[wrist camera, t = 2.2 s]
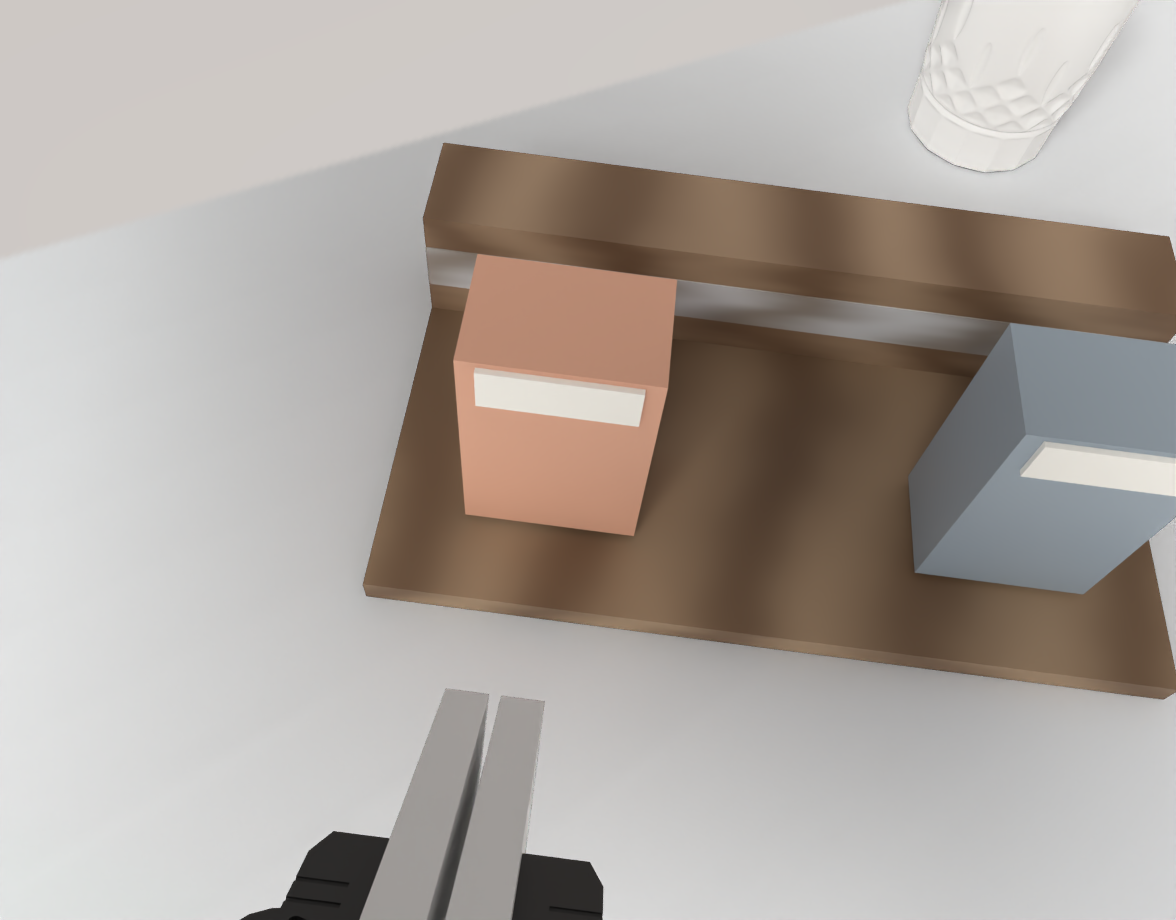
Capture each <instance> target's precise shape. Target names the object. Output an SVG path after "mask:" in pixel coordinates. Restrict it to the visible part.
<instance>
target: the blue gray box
mask: <svg viewBox="0 0 1176 920" xmlns="http://www.w3.org/2000/svg"><path fill="white" fill-rule="evenodd" d="M908 480H909V495H910V510H911V525H912V540H913V555H914V570H915V573H922V574H929V575H937V576H945V577H952V578H960V579H968V580H976V581H983V582H991V583H999V584H1006V585H1014V586H1022V587H1030V588H1037V589H1045V590H1053V591H1060V592H1068V593H1076V594H1084V593H1086V592H1087V591H1088V590H1089V589H1090V588H1092V587H1093V586H1094V585H1095V584H1096V583H1098V582H1099V581H1100V580H1101V579H1102V578H1104V577H1105V576H1106V575H1107V574H1108V573H1109V572H1111V571H1112V570H1113V569H1114V568H1115V567H1117V566H1118V565H1119V564H1120V563H1121V562H1123V561H1124V560H1125V559H1126V558H1127V557H1129V556H1130V555H1131V554H1132V553H1133V552H1135V551H1136V550H1137V549H1138V548H1139V547H1141V546H1142V545H1143V544H1144V543H1145V542H1147V541H1148V540H1149V539H1150V538H1151V537H1153V536H1154V535H1155V534H1156V533H1157V532H1158V531H1160V530H1161V529H1162V528H1163V527H1164V526H1166V525H1167V524H1168V523H1169V522H1170V521H1172V520H1173V519H1174V518H1175V517H1176V344H1169V343H1161V342H1154V341H1146V340H1138V339H1130V338H1123V337H1115V336H1107V335H1100V334H1092V333H1084V332H1076V331H1069V330H1061V329H1053V328H1046V327H1038V326H1030V325H1022V324H1015V323H1010V324H1009V325H1008V327H1007V329H1006V330H1005V332H1004V333H1003V335H1002V336H1001V338H1000V339H999V341H998V342H997V344H996V345H995V347H994V348H993V350H992V351H991V353H990V354H989V356H988V357H987V359H986V360H985V362H984V363H983V365H982V366H981V368H980V369H979V371H978V372H977V374H976V375H975V377H974V378H973V380H972V381H971V383H970V384H969V386H968V387H967V389H966V390H965V392H964V393H963V395H962V396H961V398H960V399H959V401H958V402H957V404H956V405H955V407H954V408H953V410H952V411H951V413H950V414H949V416H948V417H947V419H946V420H945V422H944V423H943V425H942V426H941V428H940V429H939V431H938V432H937V434H936V435H935V437H934V438H933V440H932V441H931V443H930V444H929V446H928V447H927V449H926V450H925V452H924V453H923V455H922V456H921V458H920V459H919V461H918V462H917V464H916V465H915V467H914V468H913V470H912V471H911V473H910V474H909V476H908Z"/></svg>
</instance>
